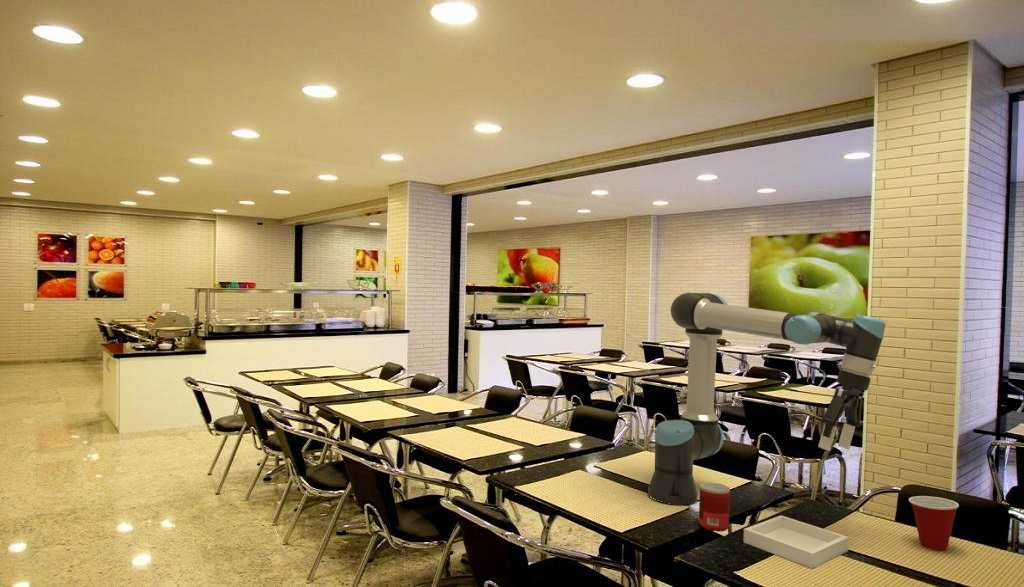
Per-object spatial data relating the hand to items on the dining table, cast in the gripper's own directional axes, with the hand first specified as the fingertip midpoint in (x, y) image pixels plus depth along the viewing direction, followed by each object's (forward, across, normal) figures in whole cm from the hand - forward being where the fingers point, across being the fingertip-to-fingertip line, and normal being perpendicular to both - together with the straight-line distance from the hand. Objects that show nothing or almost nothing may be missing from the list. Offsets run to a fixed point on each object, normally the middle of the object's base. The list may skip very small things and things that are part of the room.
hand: (833, 448), depth 165 cm
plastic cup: (+18, +16, -24) cm, 33 cm away
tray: (+25, -13, -2) cm, 29 cm away
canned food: (+30, -17, +18) cm, 39 cm away
